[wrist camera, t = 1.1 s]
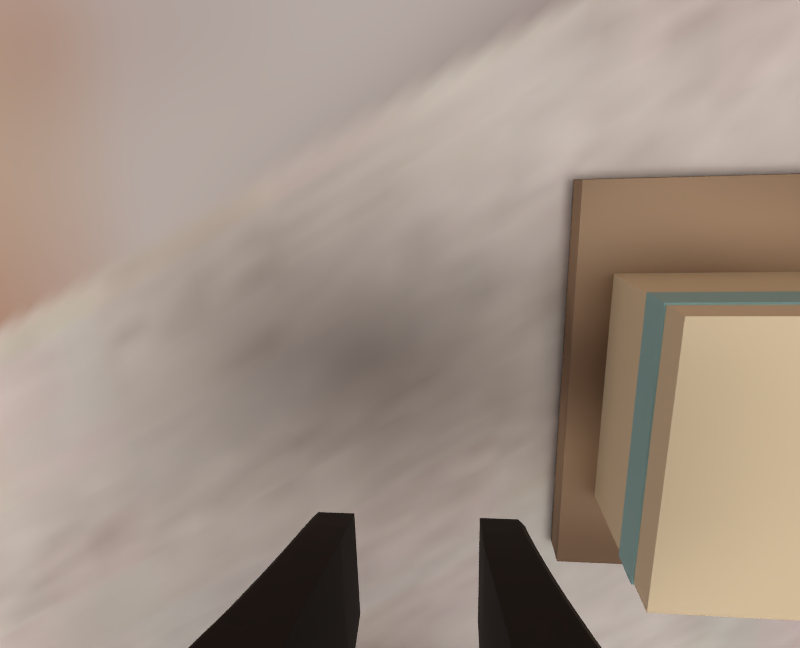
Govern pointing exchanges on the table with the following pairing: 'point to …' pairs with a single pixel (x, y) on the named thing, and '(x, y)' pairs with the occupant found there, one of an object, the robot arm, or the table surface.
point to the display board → (647, 253)
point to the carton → (704, 441)
